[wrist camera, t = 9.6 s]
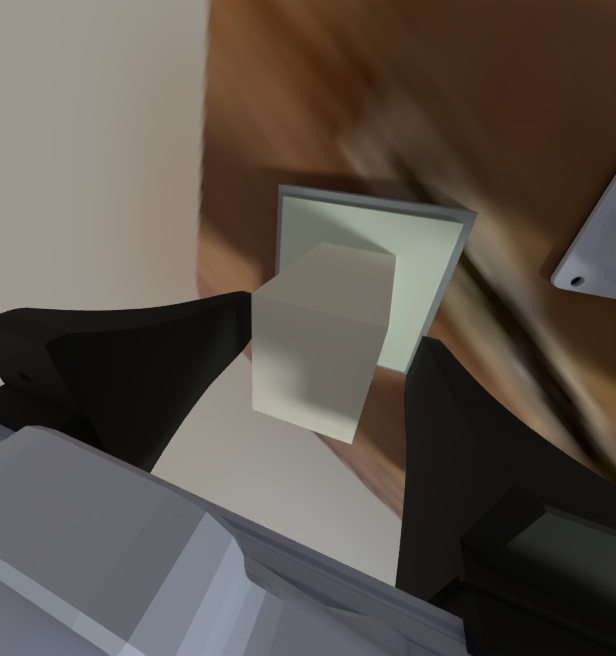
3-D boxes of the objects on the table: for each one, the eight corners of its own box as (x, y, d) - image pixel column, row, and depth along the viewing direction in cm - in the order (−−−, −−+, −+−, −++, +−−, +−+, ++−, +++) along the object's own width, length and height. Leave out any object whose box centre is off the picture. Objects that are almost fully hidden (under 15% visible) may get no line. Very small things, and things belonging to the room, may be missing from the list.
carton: (396, 255, 13) (388, 328, 7) (373, 335, 16) (351, 444, 9) (322, 242, 14) (251, 293, 8) (312, 319, 17) (252, 409, 10)
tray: (468, 209, 13) (480, 213, 11) (409, 358, 19) (410, 380, 17) (292, 184, 16) (274, 184, 14) (282, 324, 21) (269, 340, 19)
